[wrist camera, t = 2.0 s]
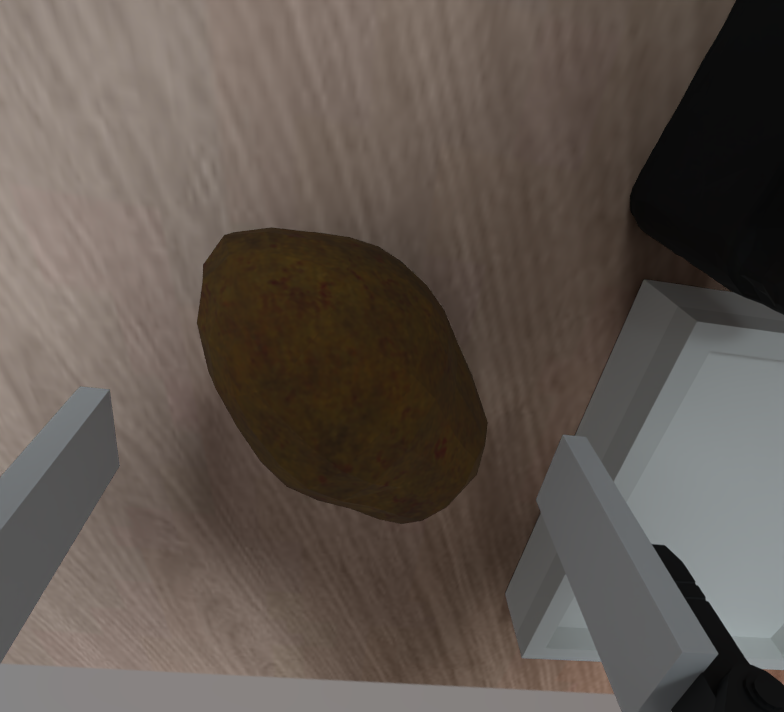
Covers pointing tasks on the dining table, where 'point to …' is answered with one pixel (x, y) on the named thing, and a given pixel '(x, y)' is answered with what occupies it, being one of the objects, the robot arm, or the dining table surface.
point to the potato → (341, 371)
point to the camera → (726, 161)
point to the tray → (683, 467)
